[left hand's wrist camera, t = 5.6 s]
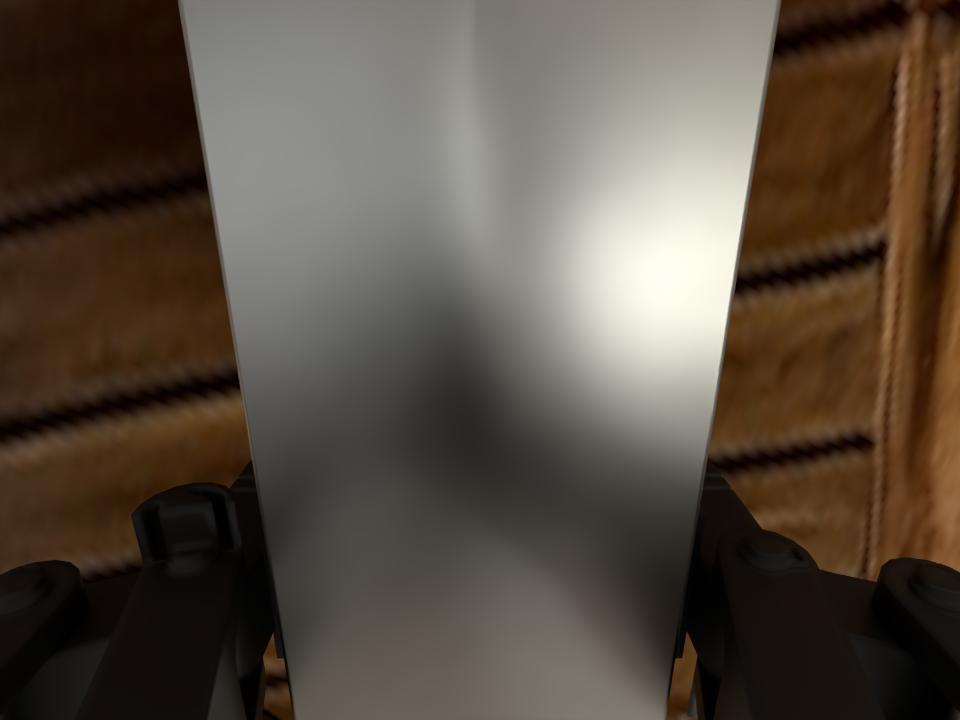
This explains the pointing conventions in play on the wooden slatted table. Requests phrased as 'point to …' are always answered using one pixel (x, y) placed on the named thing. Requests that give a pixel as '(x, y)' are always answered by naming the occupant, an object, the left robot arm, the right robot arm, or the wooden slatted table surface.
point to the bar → (479, 331)
